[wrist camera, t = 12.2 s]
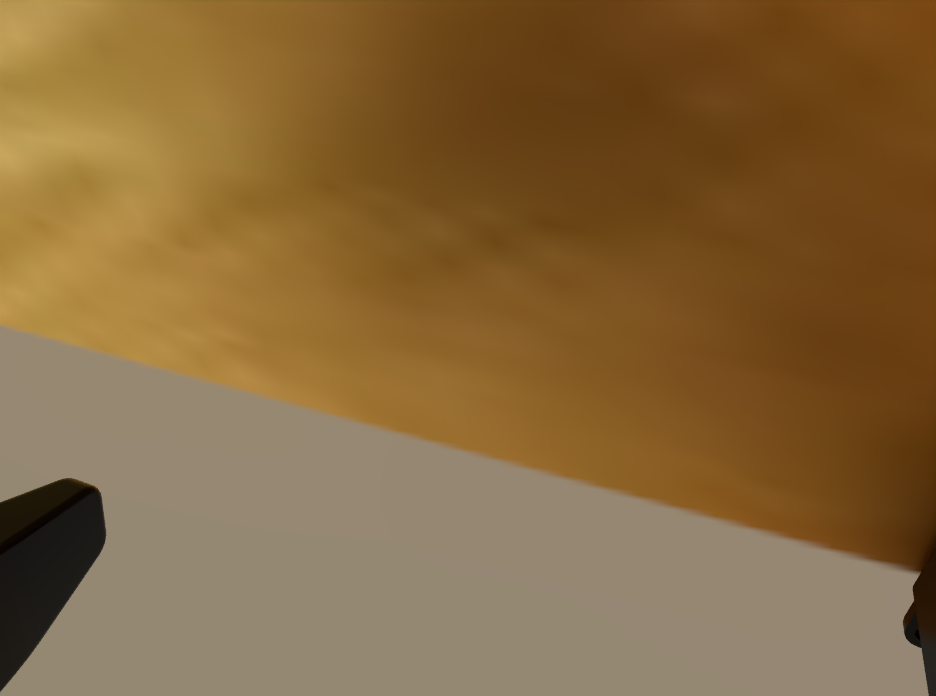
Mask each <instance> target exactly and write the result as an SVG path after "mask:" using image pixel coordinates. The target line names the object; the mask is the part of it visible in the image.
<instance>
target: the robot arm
mask: <svg viewBox="0 0 936 696" xmlns="http://www.w3.org/2000/svg"><path fill="white" fill-rule="evenodd" d="M105 539H106V528H105V520H104V512H103V504H102V497H101V493H100V492H99V490H98V488H96V487H95V486H92V485H90V484H87V483H84V482H82V481H79V480H76V479H72V478H66V479H61V480H58V481H55V482H53V483H50V484H48V485H45V486H42V487H40V488H37V489H34V490H32V491H29V492H26V493H24V494H21V495H18V496H16V497H13V498H11V499H8V500H5V501H3V502H0V692H1V690H2V689H3V688H4V687H5V686H6V684H7V683H8V682H9V681H10V680H11V679H12V677H13V676H14V675H15V674H16V672H17V671H18V670H19V669H20V667H21V666H22V665H23V664H24V662H25V661H26V660H27V659H28V657H29V656H30V655H31V653H32V652H33V651H34V649H35V648H36V646H37V645H38V644H39V642H40V641H41V639H42V638H43V637H44V635H45V634H46V632H47V631H48V629H49V628H50V626H51V625H52V623H53V622H54V620H55V619H56V617H57V616H58V615H59V613H60V612H61V610H62V609H63V607H64V606H65V604H66V603H67V601H68V600H69V598H70V597H71V595H72V594H73V593H74V591H75V590H76V588H77V587H78V585H79V584H80V582H81V581H82V579H83V578H84V576H85V575H86V573H87V572H88V571H89V569H90V568H91V566H92V565H93V563H94V562H95V560H96V559H97V557H98V556H99V554H100V552H101V550H102V549H103V546H104V543H105ZM913 595H914V602H913V604H912V605H911V607H910V608H909V610H908V612H907V613H906V615H905V617H904V620H903V626H904V633H905V636H906V639H907V640H908V641H909V642H910V643H911V644H913V645H915V646H917V647H920V648H922V653H923V660H924V666H925V673H926V680H927V686H928V693H929V696H936V549H935V550H934V552H933V554H932V555H931V557H930V559H929V560H928V562H927V564H926V565H925V567H924V569H923V570H922V572H921V574H920V575H919V577H918V579H917V580H916V582H915V584H914V585H913ZM918 628H919V629H918Z"/></svg>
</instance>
